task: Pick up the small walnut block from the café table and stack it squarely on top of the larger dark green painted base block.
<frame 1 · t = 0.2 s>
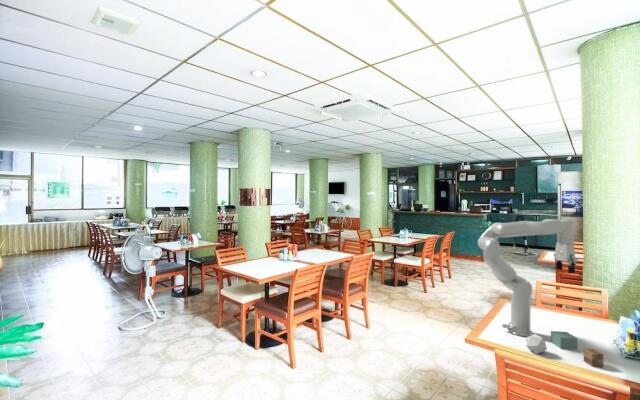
hand: (565, 271, 180), 36 cm above the table, tool pointing down, fingers open, 9 cm apart
walnut block: (593, 364, 148), on the table
die: (535, 352, 159), on the table
base block: (563, 345, 167), on the table
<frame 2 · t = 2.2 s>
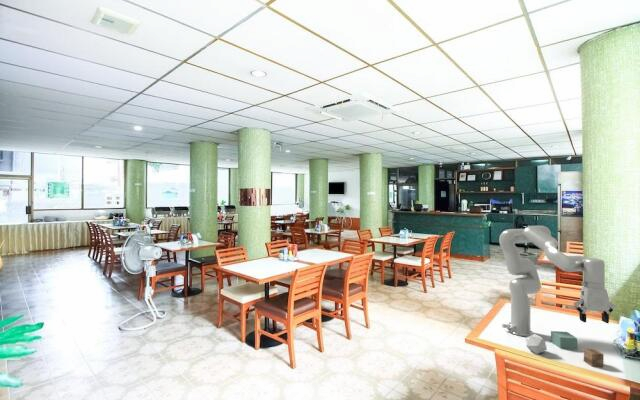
hand: (594, 321, 148), 20 cm above the table, tool pointing down, fingers open, 9 cm apart
nothing on the table moved.
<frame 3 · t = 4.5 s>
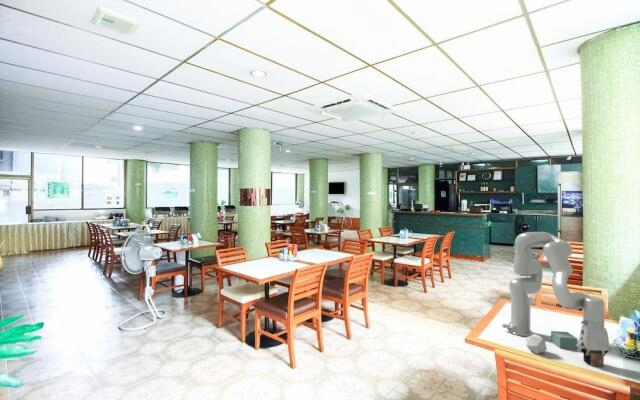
hand: (593, 362, 148), 1 cm above the table, tool pointing down, fingers closed on walnut block, 5 cm apart
walnut block: (593, 364, 148), on the table, touching gripper
everything else where it was.
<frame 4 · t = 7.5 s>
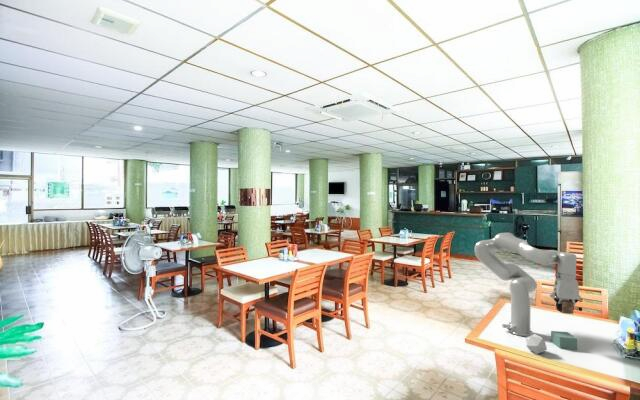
hand: (564, 310, 165), 19 cm above the table, tool pointing down, fingers closed on walnut block, 5 cm apart
walnut block: (564, 311, 165), point 18 cm above the table, touching gripper
everything else where it was.
when the fingers open (9 cm above the table, at t = 10.5 s): walnut block drops 2 cm, point 6 cm above the table.
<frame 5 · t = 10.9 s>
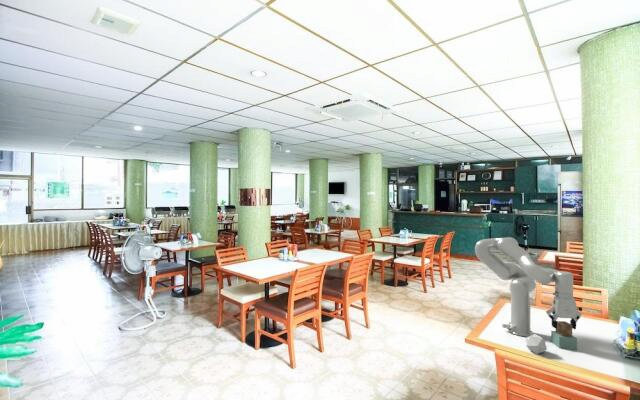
hand: (563, 327, 167), 9 cm above the table, tool pointing down, fingers open, 8 cm apart
walnut block: (563, 334, 167), point 6 cm above the table
everything else where it was.
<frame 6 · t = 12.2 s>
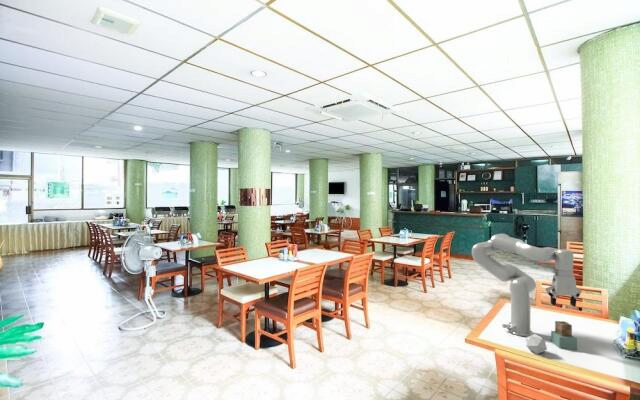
hand: (563, 305, 167), 21 cm above the table, tool pointing down, fingers open, 9 cm apart
walnut block: (563, 334, 167), point 6 cm above the table, touching base block
base block: (563, 346, 167), on the table, touching walnut block
everything else where it was.
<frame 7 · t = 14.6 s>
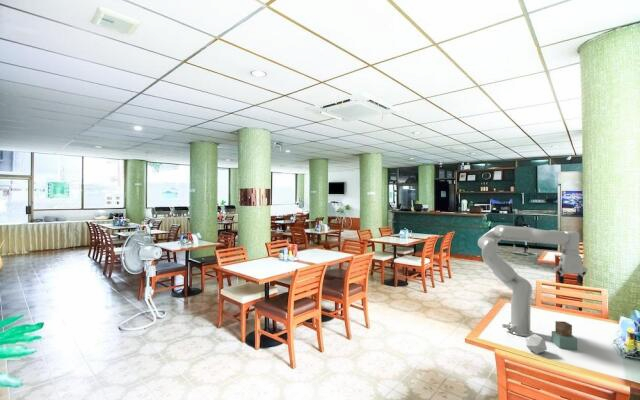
hand: (570, 283, 178), 30 cm above the table, tool pointing down, fingers open, 9 cm apart
walnut block: (563, 334, 167), point 6 cm above the table
base block: (564, 346, 166), on the table
everything else where it was.
at the end: walnut block 0.3 cm off-centre on the base block, point 6.0 cm above the base block's base; walnut block tilted 0°; the gripper is holding nothing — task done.
